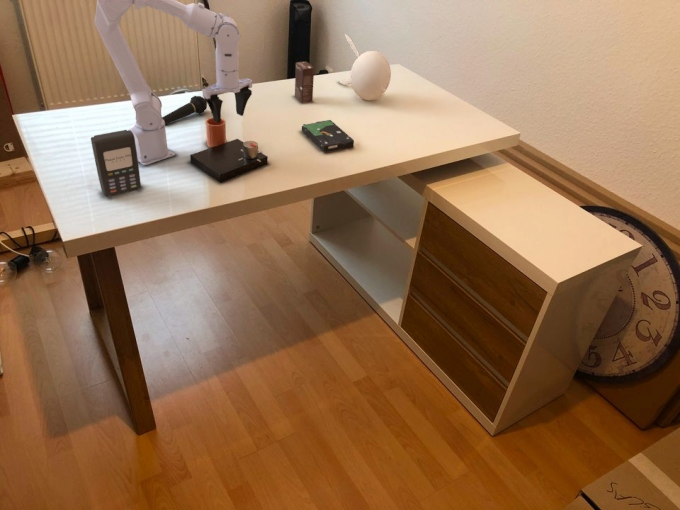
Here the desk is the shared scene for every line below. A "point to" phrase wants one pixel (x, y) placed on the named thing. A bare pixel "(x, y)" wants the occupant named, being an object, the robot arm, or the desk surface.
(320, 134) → the disk drive
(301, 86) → the box
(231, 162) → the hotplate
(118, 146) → the card reader
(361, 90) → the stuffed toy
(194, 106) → the microphone
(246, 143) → the dial
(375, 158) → the desk surface
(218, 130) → the cup
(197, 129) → the desk surface
